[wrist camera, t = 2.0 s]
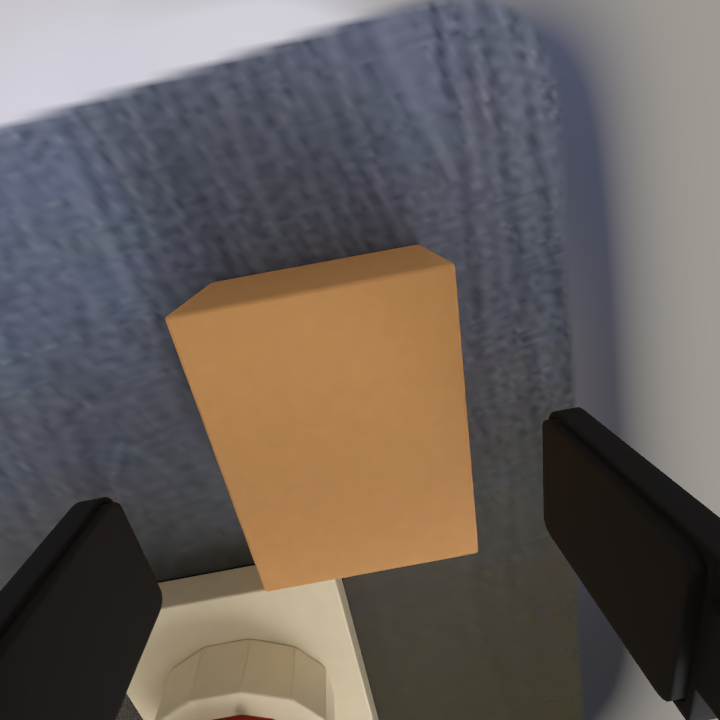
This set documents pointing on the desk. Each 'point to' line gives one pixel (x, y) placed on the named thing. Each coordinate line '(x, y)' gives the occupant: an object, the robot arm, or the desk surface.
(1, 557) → the desk surface
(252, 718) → the button
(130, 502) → the desk surface
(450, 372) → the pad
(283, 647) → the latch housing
